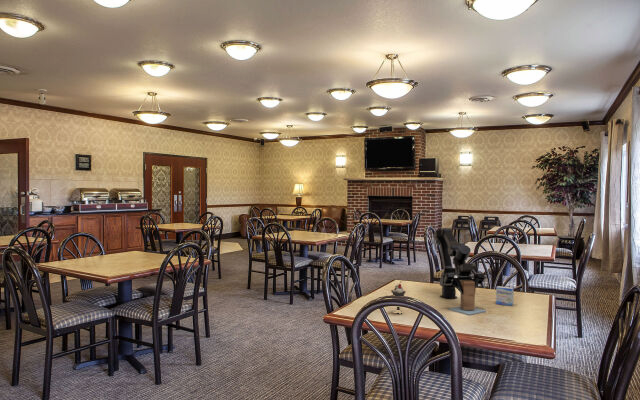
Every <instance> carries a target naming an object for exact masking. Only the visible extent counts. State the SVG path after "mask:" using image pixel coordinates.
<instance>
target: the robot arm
mask: <svg viewBox="0 0 640 400" xmlns="http://www.w3.org/2000/svg"><path fill="white" fill-rule="evenodd" d="M433 238H434V240H435V243H436V245H438V246H439V251H440V256H441V262H442V268H443V271H442V272H441V276H440V279H439V286H441V295H439V296H440V297H441V298H443V299H448V300H449V299H450V300H451V299H457V298H458V297H457V296H456V295H457V294H456V293H457V292H456V289H457V291H458V292H459V293H460V295H461V294H463V289H462V286H461V280H472V281H473V282H475V290H476V289H477V285H482V284H483V283H484V281H485V280H486V276H485V274H484V273H483V272H476V273H475V274H474V275H472V271H475V270H476V269H477V264H476V263H475V262H471V263H466V261H467V260H468V258H469V256H470V253H471V251H472V249H471V248H470V247H469V246H468V245H466V243H464V242H463V243H461V242H458V241H457V238H456V237H455V236H454V234H453V231H452V228H449V227H443V228H440V229H436V230H435V231H434V232H433ZM452 257H453V258H452ZM451 258H452V259H451ZM453 265H454V267H453ZM440 297H439V298H440Z"/></svg>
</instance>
